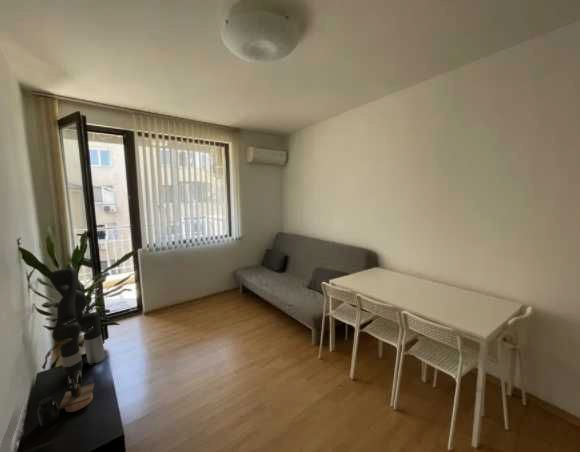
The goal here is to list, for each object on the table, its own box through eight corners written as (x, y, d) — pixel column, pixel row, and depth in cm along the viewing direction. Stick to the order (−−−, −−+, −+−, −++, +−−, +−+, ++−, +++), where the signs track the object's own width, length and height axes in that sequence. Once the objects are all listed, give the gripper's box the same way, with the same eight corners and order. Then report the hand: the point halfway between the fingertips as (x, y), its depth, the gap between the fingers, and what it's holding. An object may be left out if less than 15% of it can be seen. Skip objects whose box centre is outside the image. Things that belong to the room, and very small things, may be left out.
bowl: (69, 401, 134) (68, 393, 133) (94, 393, 139) (93, 385, 138) (62, 417, 124) (61, 408, 123) (90, 407, 129) (88, 398, 128)
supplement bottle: (56, 414, 126) (52, 392, 125) (62, 419, 123) (58, 397, 121) (38, 425, 120) (33, 402, 119) (43, 431, 117) (38, 408, 115)
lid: (66, 393, 133) (64, 383, 132) (94, 384, 139) (92, 374, 138) (59, 409, 123) (57, 398, 122) (89, 399, 128) (87, 388, 128)
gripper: (67, 356, 133) (72, 383, 135) (57, 372, 120) (63, 402, 122) (84, 351, 136) (89, 378, 138) (77, 366, 124) (82, 396, 126)
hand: (77, 389), depth 130 cm, fingers open, 8 cm apart
